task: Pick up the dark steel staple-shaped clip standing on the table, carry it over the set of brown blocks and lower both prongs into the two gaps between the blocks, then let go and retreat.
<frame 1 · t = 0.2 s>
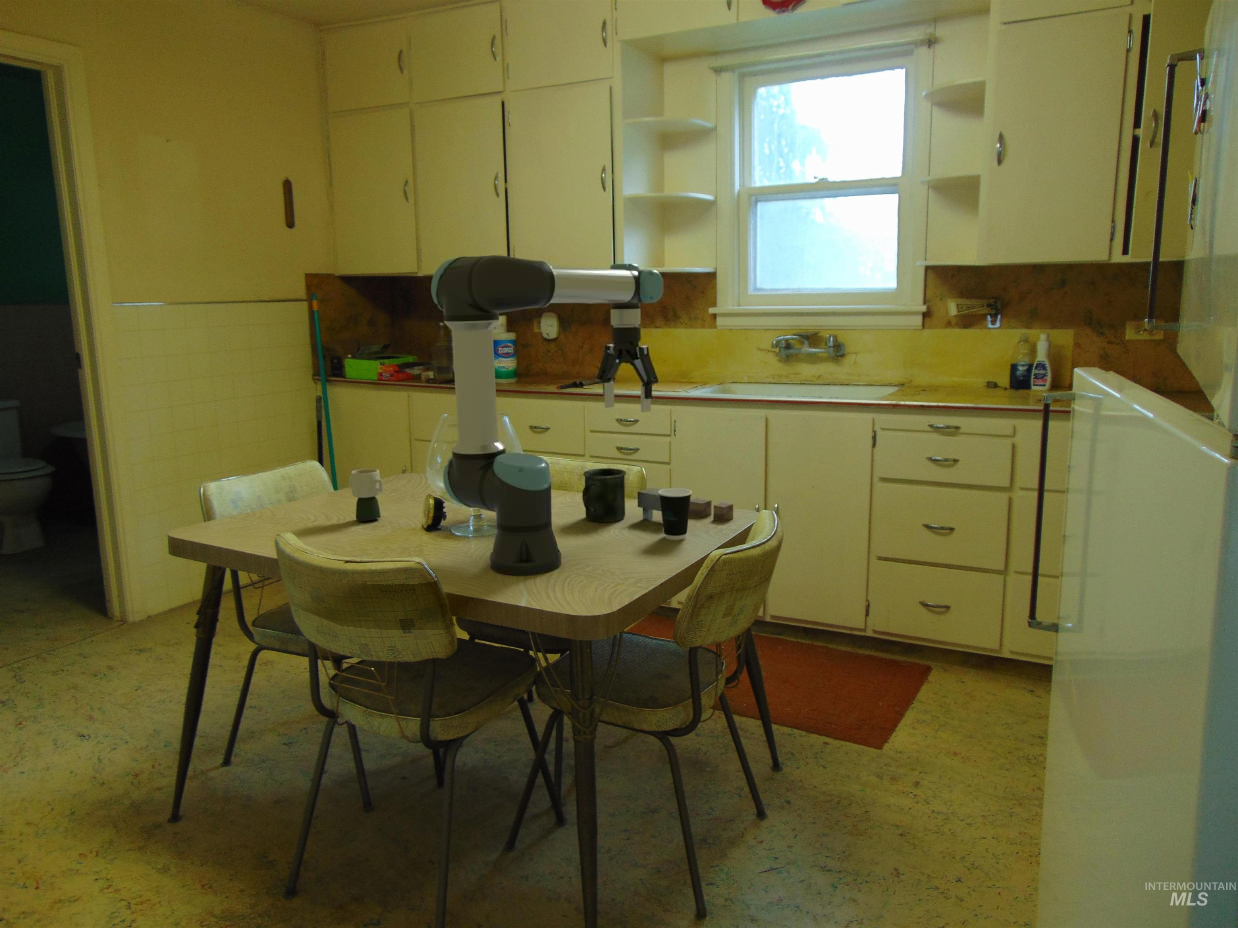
hand: (627, 409, 231), 27 cm above the table, fingers open, 13 cm apart
dixie cup: (675, 537, 211), on the table
mug: (601, 520, 229), on the table
set of brown blocks: (699, 514, 232), on the table
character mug: (368, 521, 232), on the table
clip: (660, 521, 226), on the table
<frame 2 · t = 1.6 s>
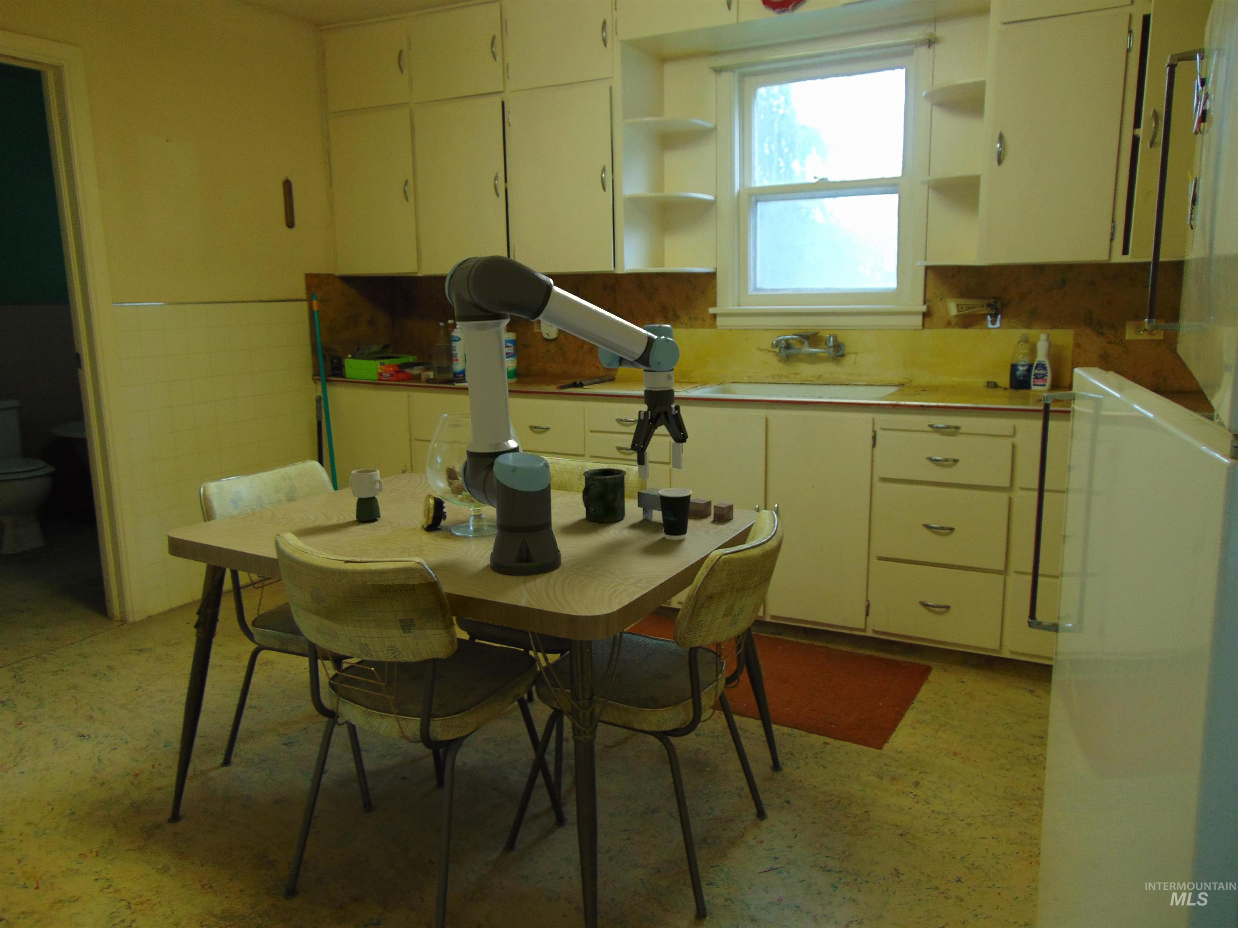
hand: (660, 473, 224), 12 cm above the table, fingers open, 13 cm apart
nothing on the table moved.
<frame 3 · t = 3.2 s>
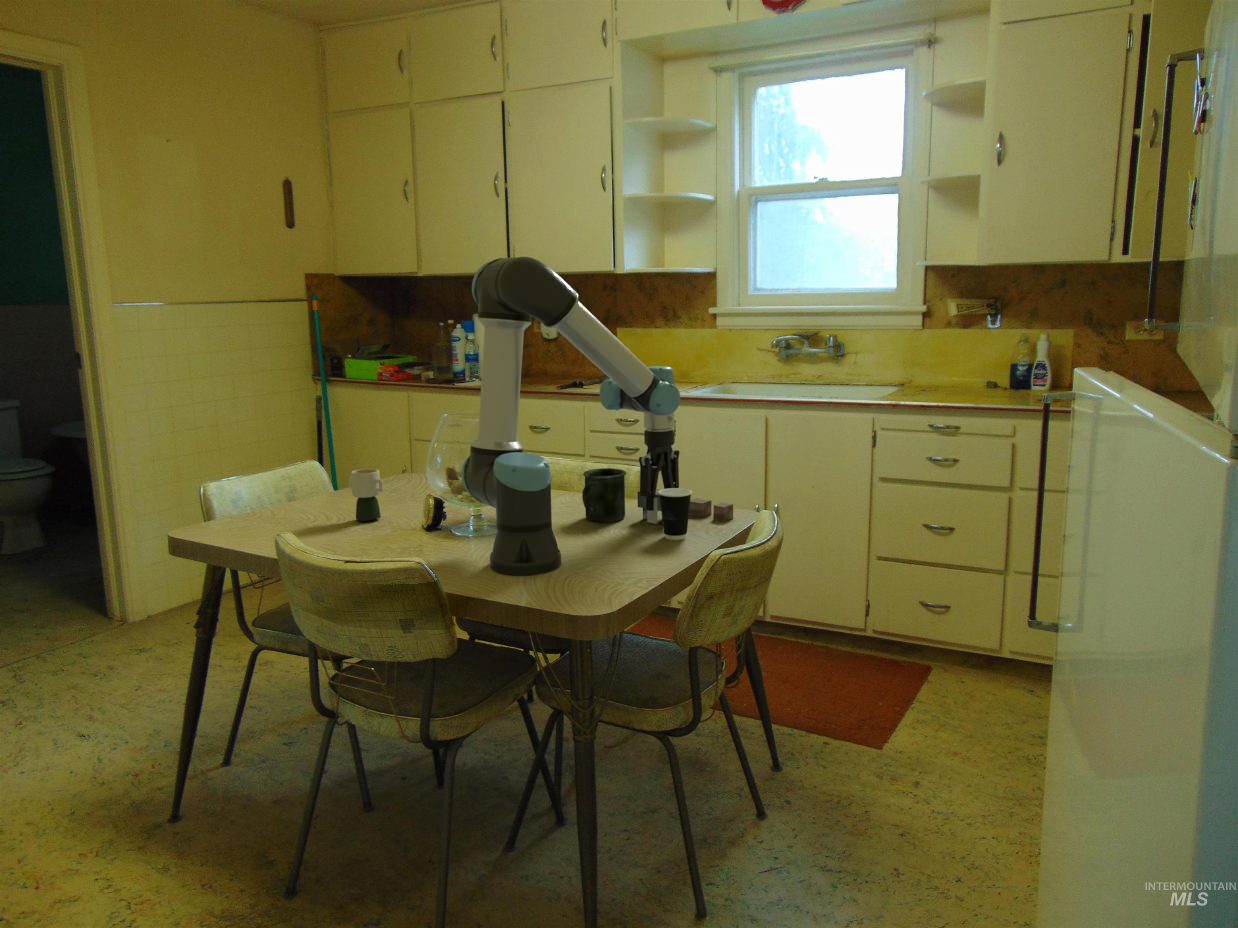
hand: (660, 519, 226), 0 cm above the table, fingers closed on clip, 5 cm apart
clip: (660, 521, 226), on the table, touching gripper
everything else where it was.
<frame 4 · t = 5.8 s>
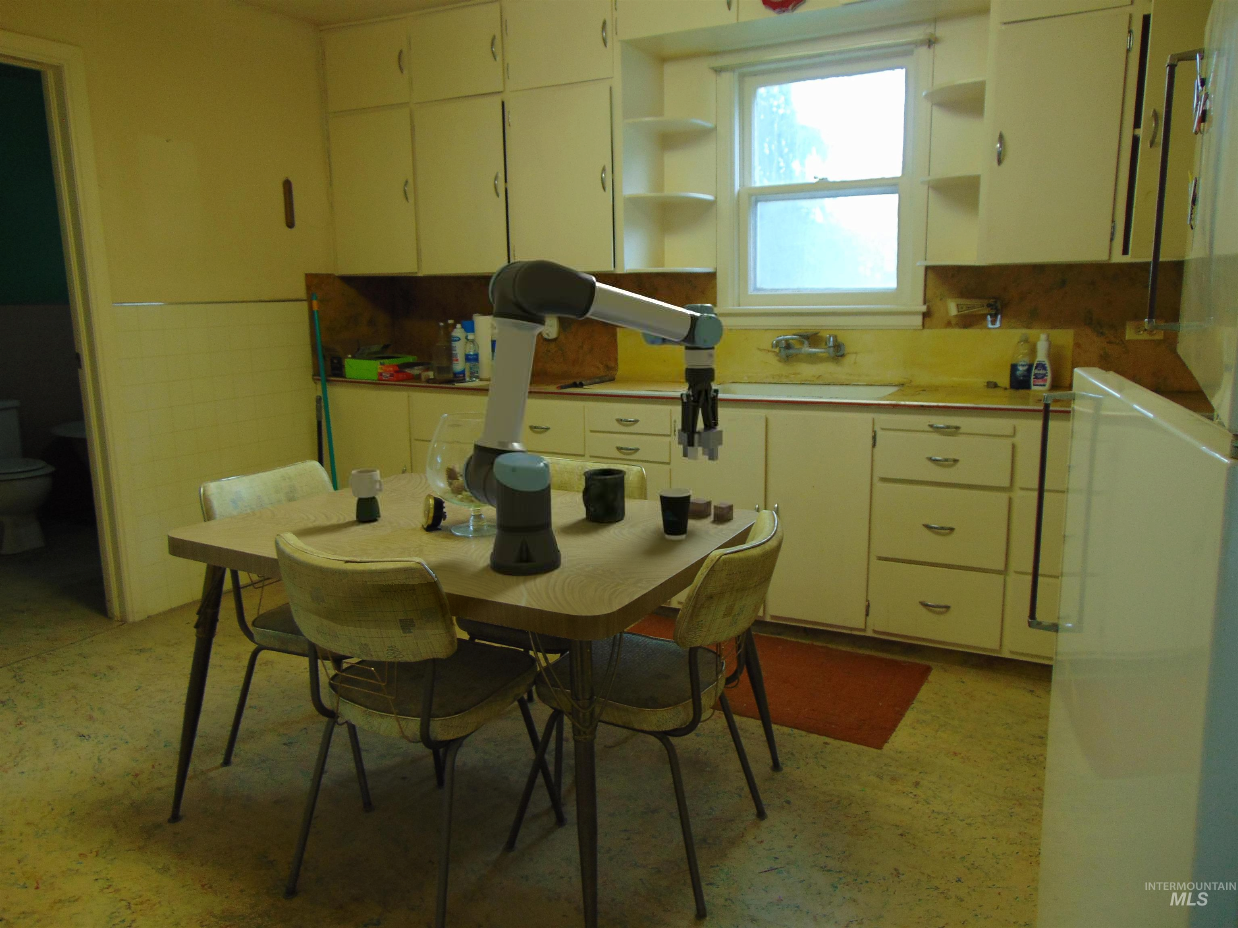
hand: (700, 457, 229), 15 cm above the table, fingers closed on clip, 5 cm apart
clip: (700, 458, 229), point 15 cm above the table, touching gripper
everything else where it was.
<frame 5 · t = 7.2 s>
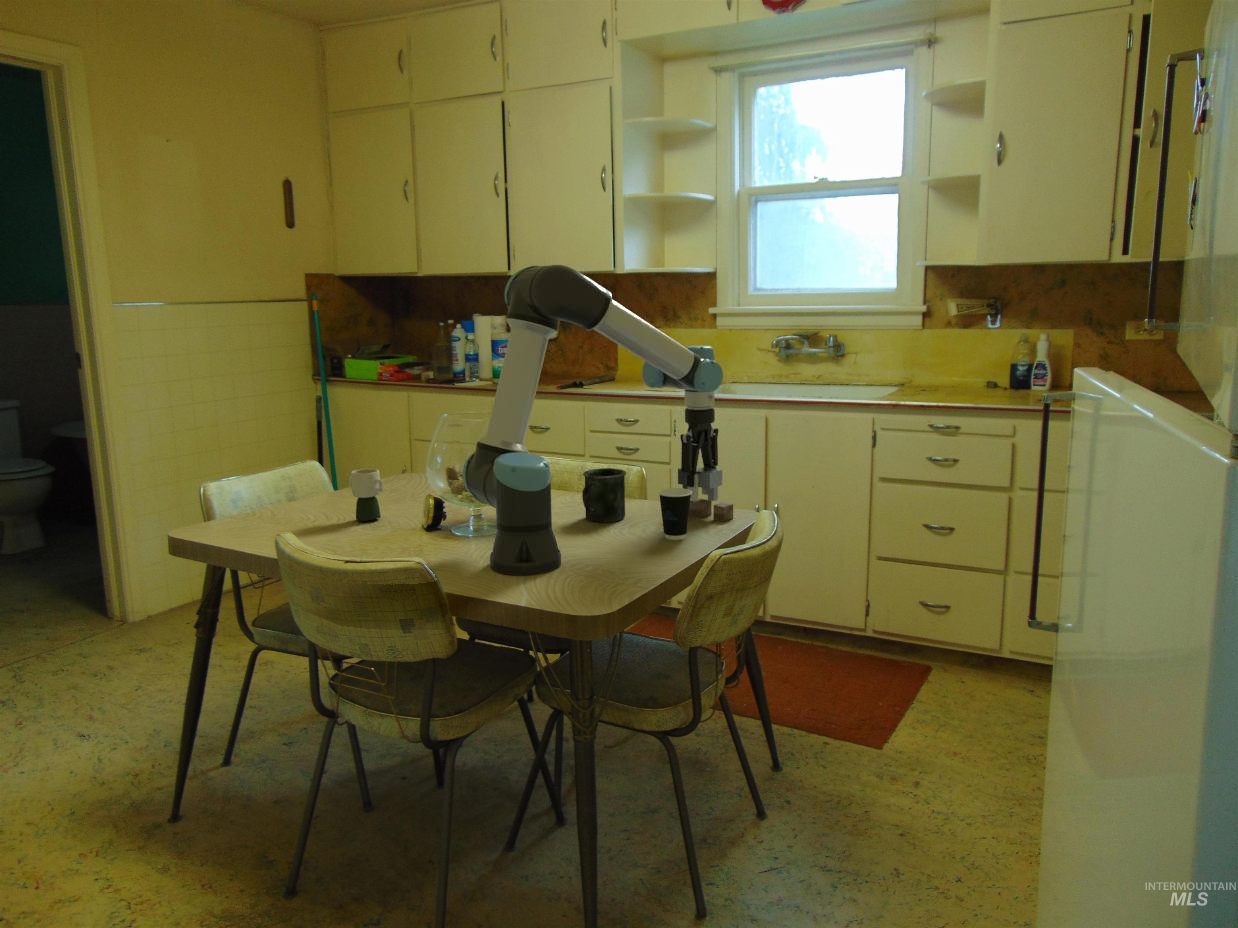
hand: (699, 496, 231), 5 cm above the table, fingers closed on clip, 5 cm apart
clip: (700, 497, 231), point 4 cm above the table, touching gripper
everything else where it was.
when the fingers open (1 cm above the table, at t = 8.2 s): clip stays where it is, resting on set of brown blocks.
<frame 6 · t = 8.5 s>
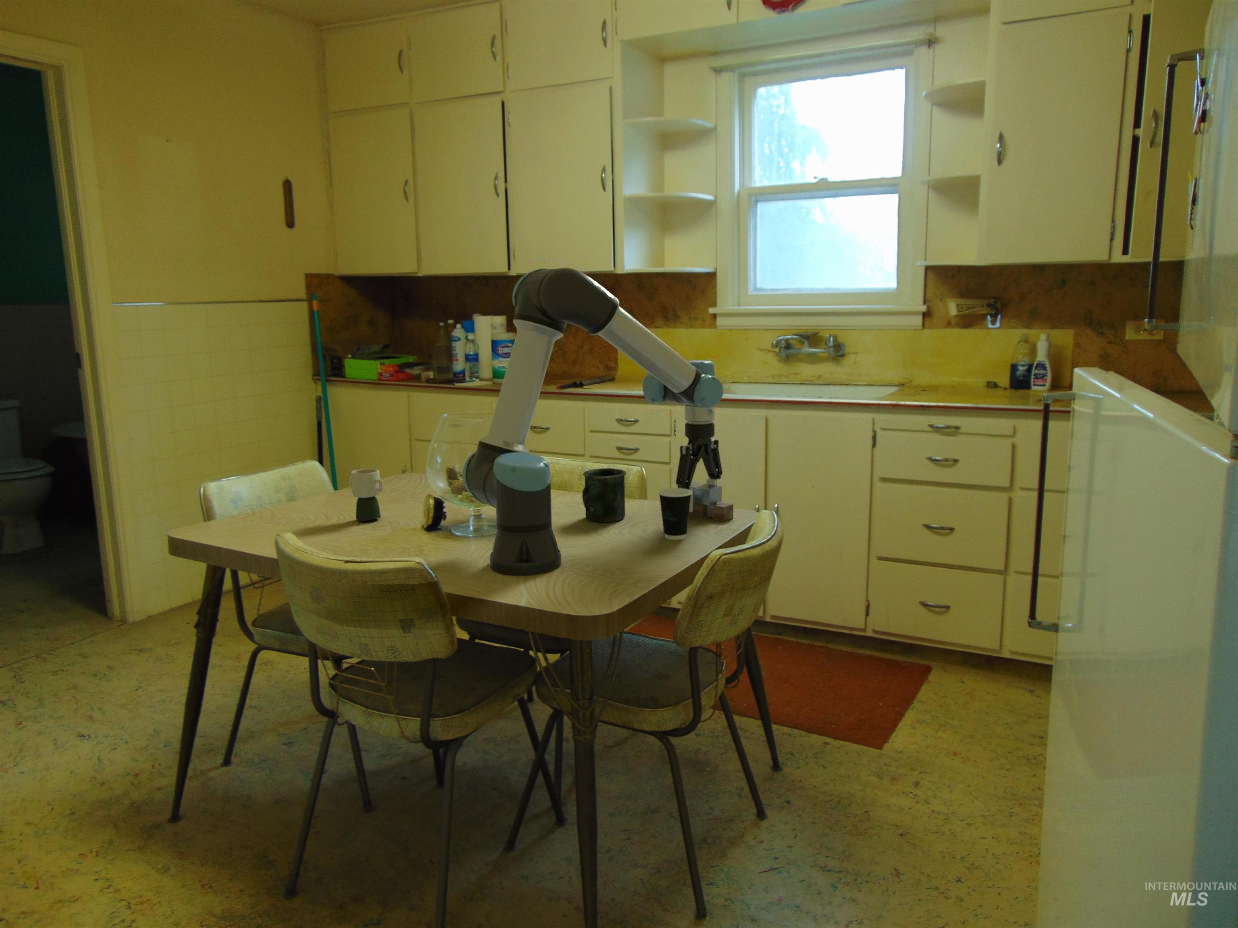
hand: (699, 507, 231), 2 cm above the table, fingers open, 10 cm apart
clip: (699, 513, 232), resting on set of brown blocks
everything else where it was.
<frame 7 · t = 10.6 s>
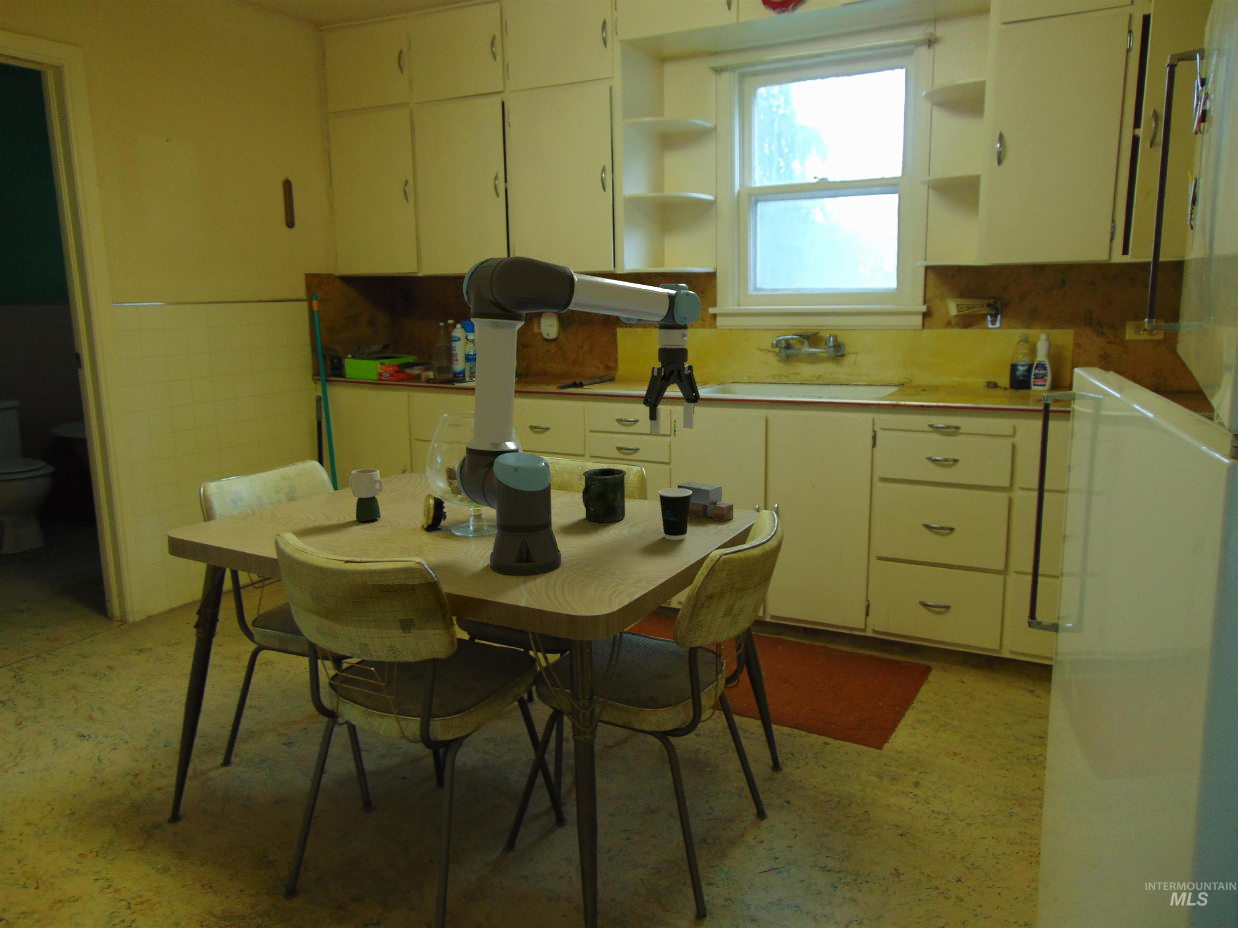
hand: (671, 430, 228), 22 cm above the table, fingers open, 13 cm apart
nothing on the table moved.
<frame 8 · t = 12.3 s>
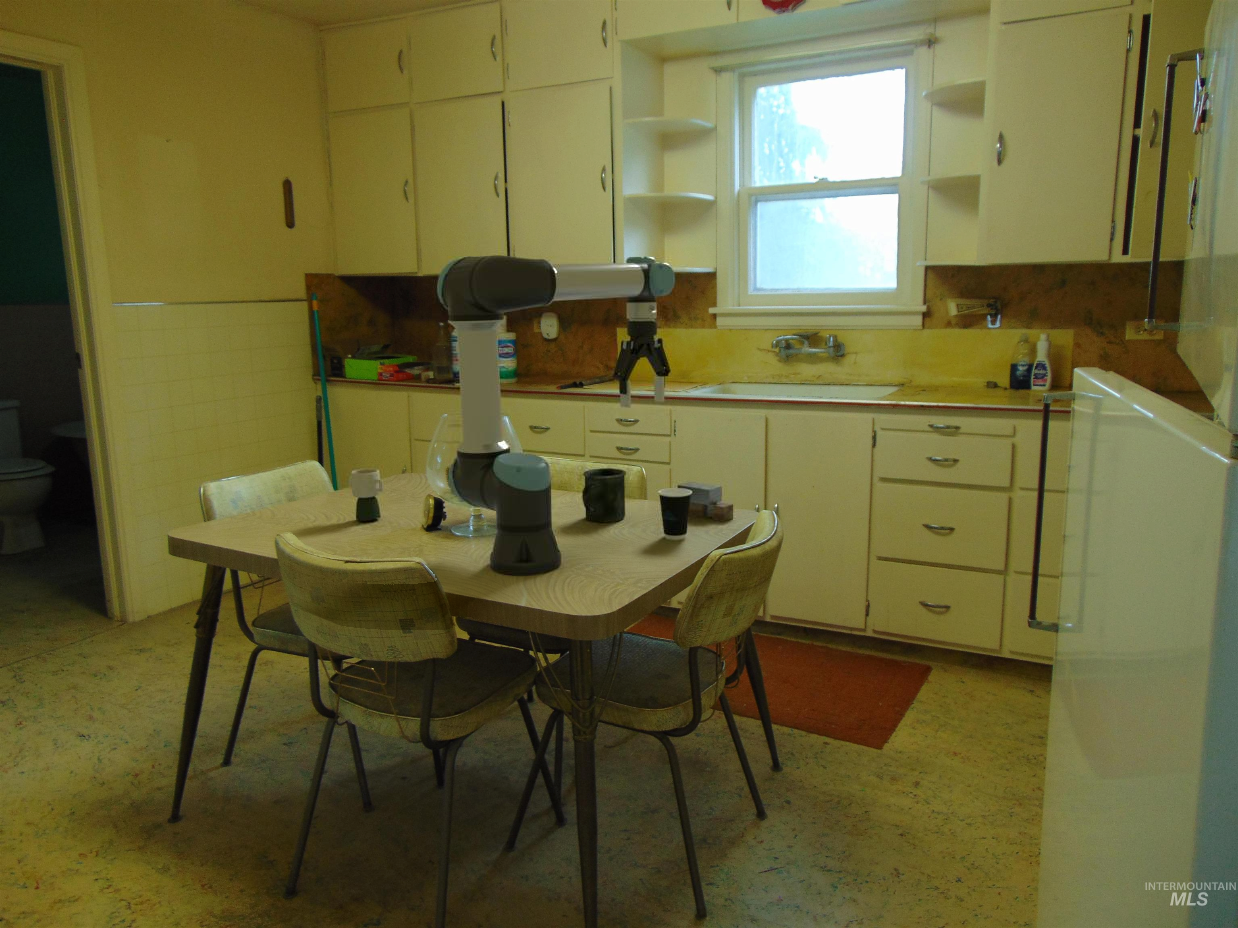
hand: (642, 404, 228), 29 cm above the table, fingers open, 13 cm apart
nothing on the table moved.
at the end: clip 0.0 cm off-centre on the set of brown blocks, point 0.2 cm above the set of brown blocks's base; clip tilted 0°; the gripper is holding nothing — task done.
